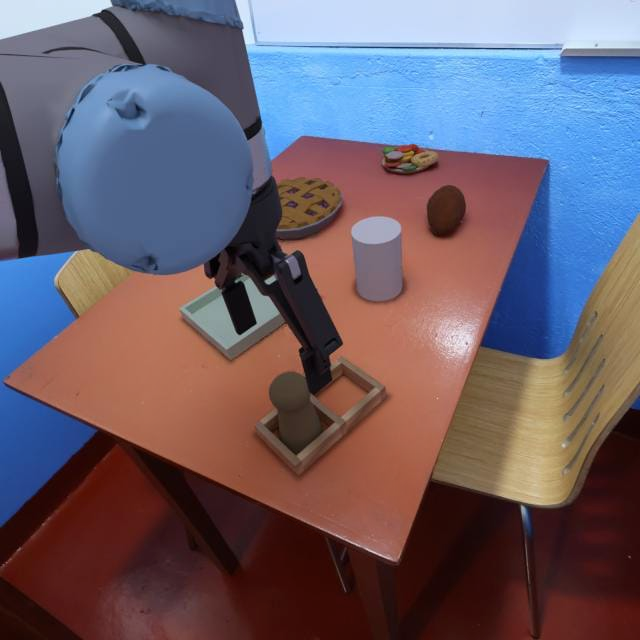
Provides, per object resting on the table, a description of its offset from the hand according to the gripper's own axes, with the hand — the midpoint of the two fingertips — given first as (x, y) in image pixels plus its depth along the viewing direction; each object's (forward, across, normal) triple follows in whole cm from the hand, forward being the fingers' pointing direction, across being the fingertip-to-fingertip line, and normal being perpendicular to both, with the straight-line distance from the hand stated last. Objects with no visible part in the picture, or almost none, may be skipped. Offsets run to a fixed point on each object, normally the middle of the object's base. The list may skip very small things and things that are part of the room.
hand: (281, 355), depth 54 cm
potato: (+16, +16, -53) cm, 57 cm away
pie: (+16, +45, -37) cm, 60 cm away
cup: (+16, +13, -30) cm, 36 cm away
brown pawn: (+16, 0, 0) cm, 16 cm away
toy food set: (+16, +40, -70) cm, 82 cm away
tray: (+16, +27, -11) cm, 33 cm away
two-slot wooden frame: (+16, 0, -4) cm, 16 cm away
